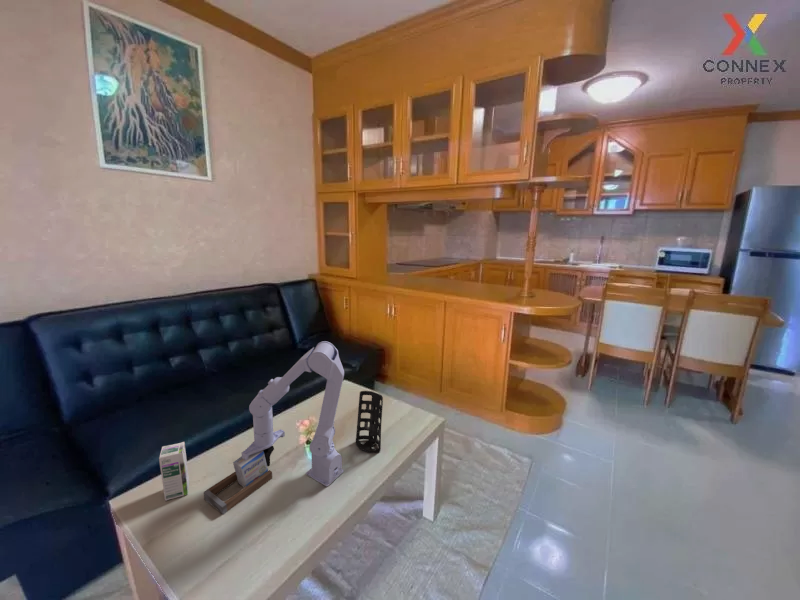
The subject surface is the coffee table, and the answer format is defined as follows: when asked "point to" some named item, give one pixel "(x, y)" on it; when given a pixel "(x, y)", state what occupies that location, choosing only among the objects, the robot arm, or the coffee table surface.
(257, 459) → the medicine box
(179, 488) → the syrup box
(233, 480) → the open rail bay
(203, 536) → the coffee table surface
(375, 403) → the holder
